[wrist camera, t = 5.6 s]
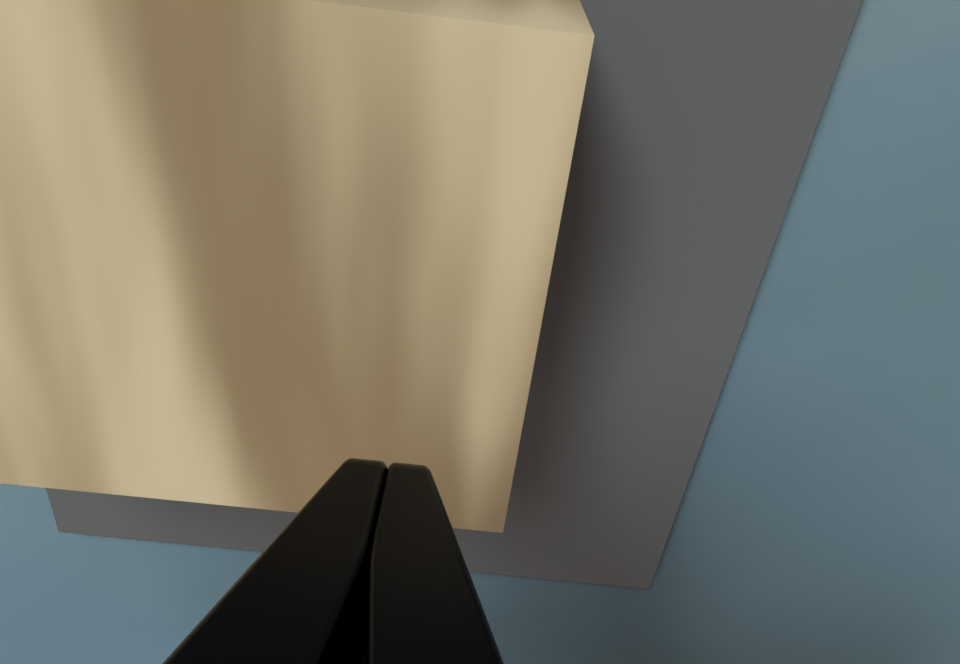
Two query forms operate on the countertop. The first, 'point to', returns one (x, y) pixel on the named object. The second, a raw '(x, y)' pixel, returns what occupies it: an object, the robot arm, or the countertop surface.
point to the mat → (620, 288)
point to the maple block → (278, 241)
